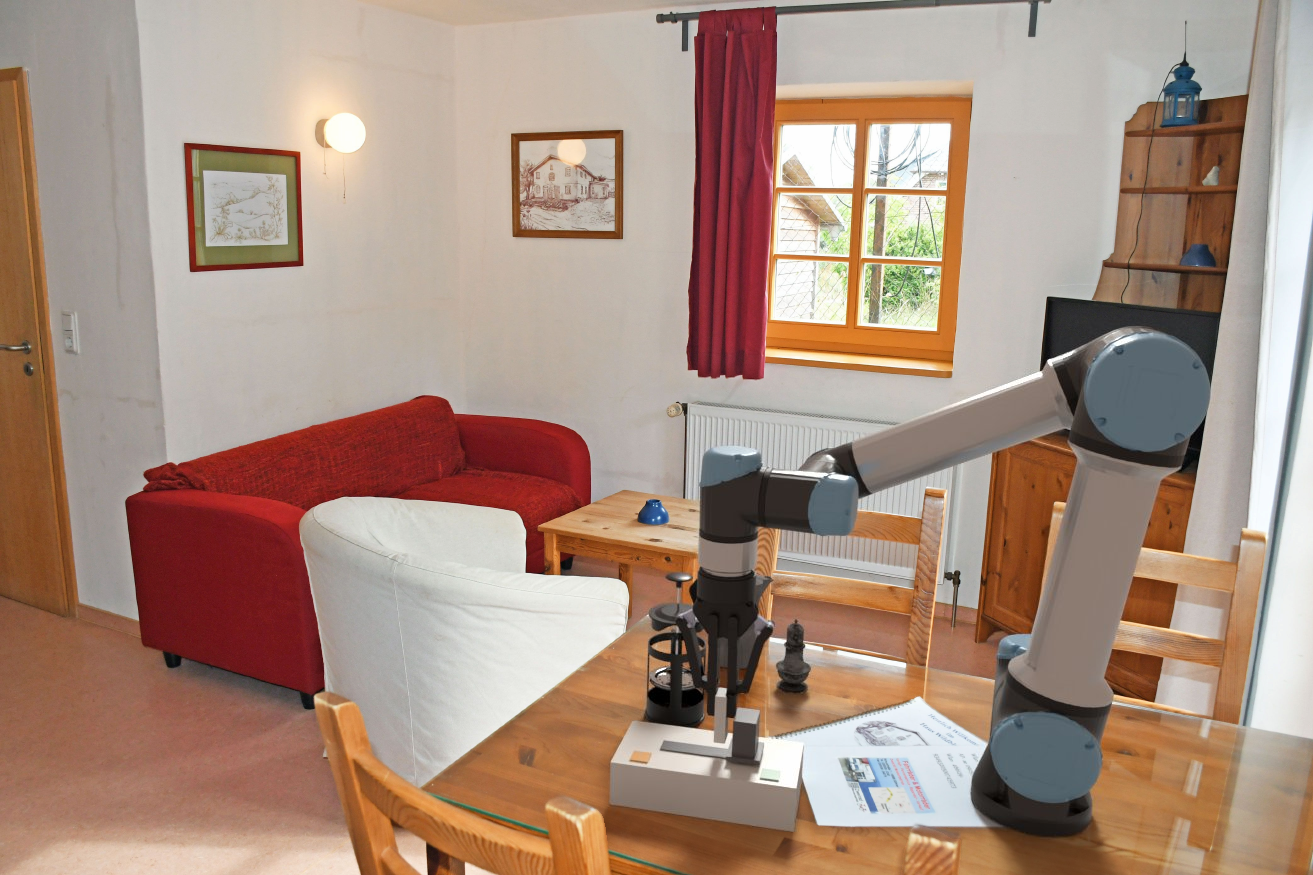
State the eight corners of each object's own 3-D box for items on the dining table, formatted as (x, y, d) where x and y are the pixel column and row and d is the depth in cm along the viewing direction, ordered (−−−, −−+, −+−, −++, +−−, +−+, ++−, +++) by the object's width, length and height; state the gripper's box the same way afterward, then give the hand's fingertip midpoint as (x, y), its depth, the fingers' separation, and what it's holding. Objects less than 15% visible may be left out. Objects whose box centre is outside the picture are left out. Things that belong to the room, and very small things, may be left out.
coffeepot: (760, 645, 184) (764, 552, 180) (778, 666, 175) (784, 568, 171) (679, 652, 180) (682, 556, 176) (694, 674, 171) (698, 573, 168)
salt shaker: (771, 691, 165) (775, 622, 163) (778, 676, 171) (781, 610, 168) (807, 696, 164) (811, 627, 161) (812, 681, 169) (816, 614, 167)
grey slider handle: (763, 746, 134) (765, 709, 132) (759, 765, 129) (761, 726, 128) (731, 742, 134) (732, 704, 133) (725, 760, 130) (727, 721, 129)
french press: (705, 732, 151) (711, 587, 146) (643, 730, 151) (647, 585, 146) (703, 697, 162) (708, 562, 158) (645, 695, 162) (649, 560, 158)
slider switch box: (801, 782, 137) (804, 741, 136) (793, 831, 126) (796, 786, 124) (632, 759, 142) (632, 718, 141) (609, 804, 131) (610, 760, 129)
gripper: (781, 563, 130) (773, 731, 134) (682, 554, 132) (678, 719, 137) (774, 581, 122) (766, 758, 127) (671, 571, 125) (666, 745, 130)
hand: (720, 737), depth 132 cm, fingers closed
